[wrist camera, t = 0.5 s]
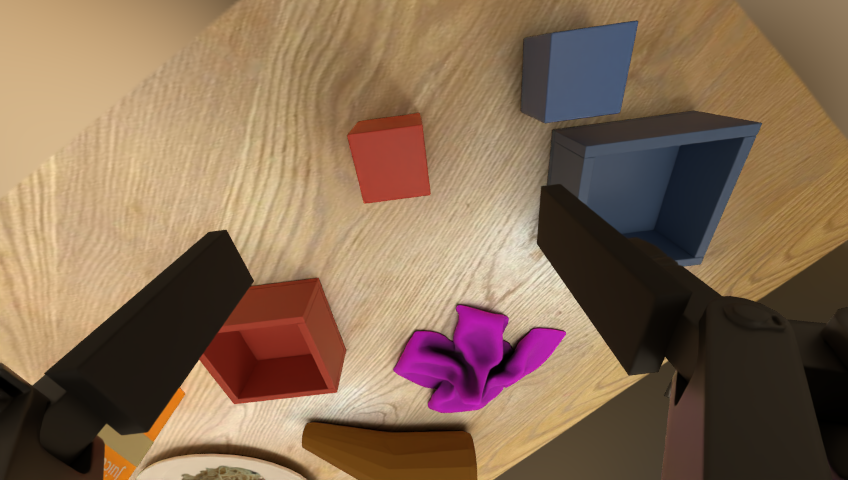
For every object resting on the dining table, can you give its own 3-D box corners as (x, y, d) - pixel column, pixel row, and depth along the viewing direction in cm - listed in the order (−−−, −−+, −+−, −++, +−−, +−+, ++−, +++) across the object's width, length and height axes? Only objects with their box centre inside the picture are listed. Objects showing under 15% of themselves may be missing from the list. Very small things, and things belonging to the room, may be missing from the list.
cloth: (449, 418, 47) (454, 463, 41) (364, 359, 39) (357, 406, 34) (584, 355, 40) (610, 400, 35) (515, 269, 32) (536, 310, 27)
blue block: (523, 38, 22) (551, 32, 17) (593, 27, 22) (639, 20, 17) (520, 112, 24) (544, 123, 20) (583, 103, 24) (620, 113, 20)
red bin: (211, 290, 32) (176, 331, 27) (318, 277, 32) (302, 316, 27) (256, 360, 38) (233, 404, 33) (346, 350, 38) (337, 392, 33)
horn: (314, 408, 48) (469, 405, 50) (314, 470, 49) (467, 465, 50) (295, 444, 40) (480, 439, 42) (296, 517, 41) (478, 510, 42)
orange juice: (83, 366, 37) (-194, 628, 20) (152, 357, 37) (-69, 615, 20) (124, 402, 41) (-78, 646, 24) (186, 394, 41) (27, 636, 24)
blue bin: (552, 129, 25) (585, 146, 20) (694, 110, 25) (762, 122, 20) (541, 246, 31) (565, 281, 26) (655, 232, 31) (701, 264, 26)
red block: (357, 121, 24) (346, 134, 20) (420, 112, 24) (422, 124, 20) (371, 180, 27) (363, 204, 22) (427, 173, 26) (430, 195, 22)
